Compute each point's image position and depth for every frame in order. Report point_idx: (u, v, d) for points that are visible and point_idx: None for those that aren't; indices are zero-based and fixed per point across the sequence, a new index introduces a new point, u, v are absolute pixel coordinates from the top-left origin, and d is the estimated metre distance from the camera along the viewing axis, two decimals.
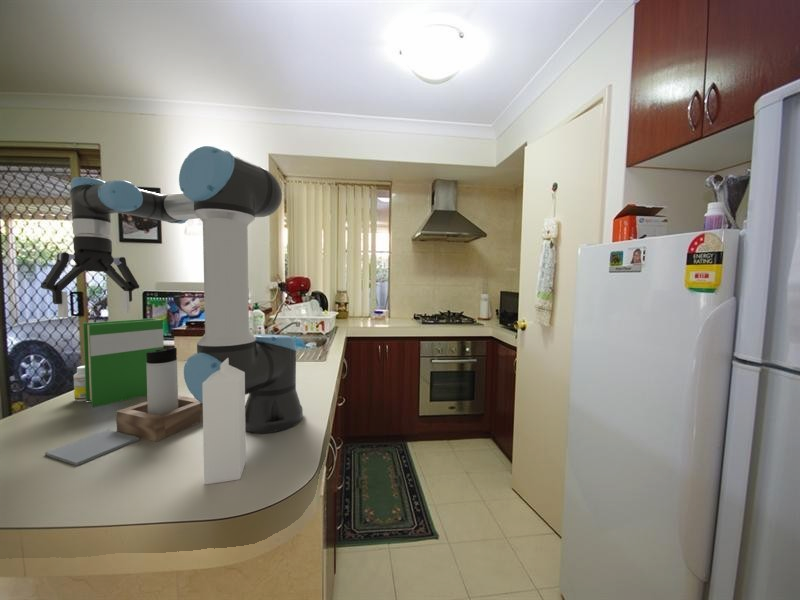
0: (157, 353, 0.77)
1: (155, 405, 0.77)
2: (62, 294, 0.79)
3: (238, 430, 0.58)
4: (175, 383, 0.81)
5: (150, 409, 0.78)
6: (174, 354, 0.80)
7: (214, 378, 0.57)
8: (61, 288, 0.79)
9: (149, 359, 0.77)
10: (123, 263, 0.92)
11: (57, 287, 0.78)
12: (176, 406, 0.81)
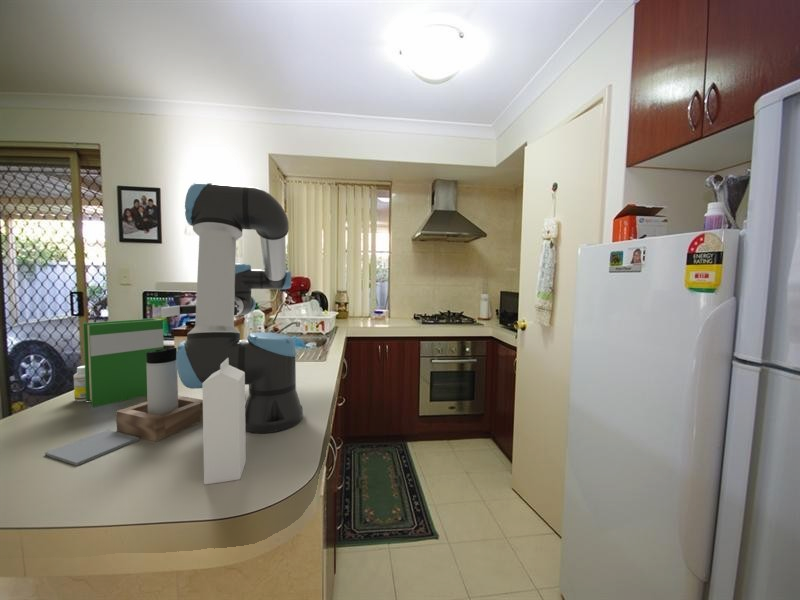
0: (157, 353, 0.77)
1: (155, 405, 0.77)
2: None
3: (238, 430, 0.58)
4: (175, 383, 0.81)
5: (150, 409, 0.78)
6: (174, 354, 0.80)
7: (214, 378, 0.57)
8: (178, 306, 0.96)
9: (149, 359, 0.77)
10: (235, 305, 1.04)
11: None
12: (176, 406, 0.81)
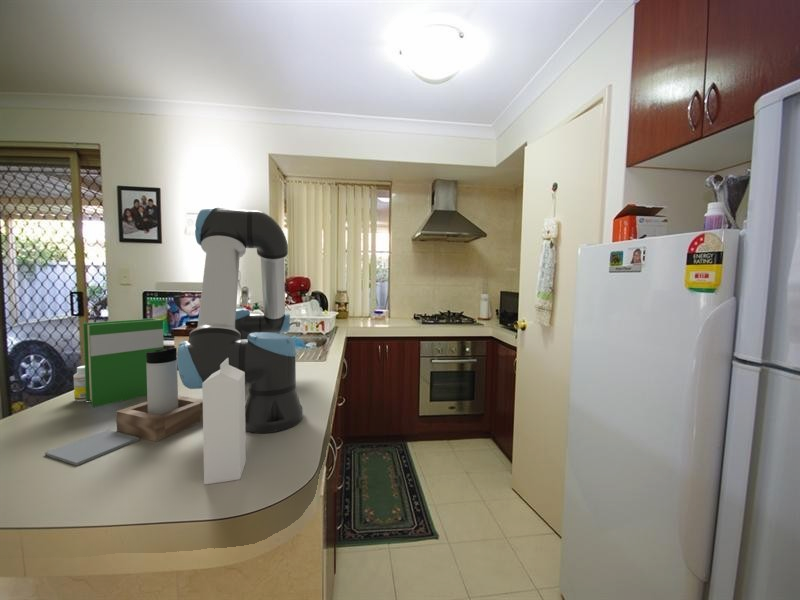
0: (157, 353, 0.77)
1: (155, 405, 0.77)
2: None
3: (238, 430, 0.58)
4: (175, 383, 0.81)
5: (150, 409, 0.78)
6: (174, 354, 0.80)
7: (214, 378, 0.57)
8: None
9: (149, 359, 0.77)
10: None
11: None
12: (176, 406, 0.81)
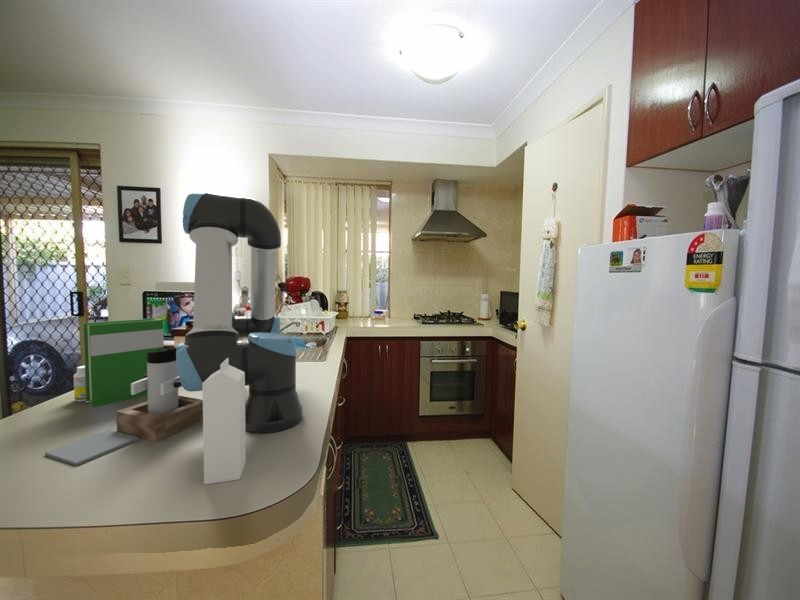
0: (158, 353, 0.77)
1: (155, 405, 0.77)
2: None
3: (238, 430, 0.58)
4: None
5: (151, 408, 0.78)
6: (175, 354, 0.80)
7: (214, 378, 0.57)
8: None
9: (150, 359, 0.77)
10: None
11: None
12: (176, 406, 0.81)
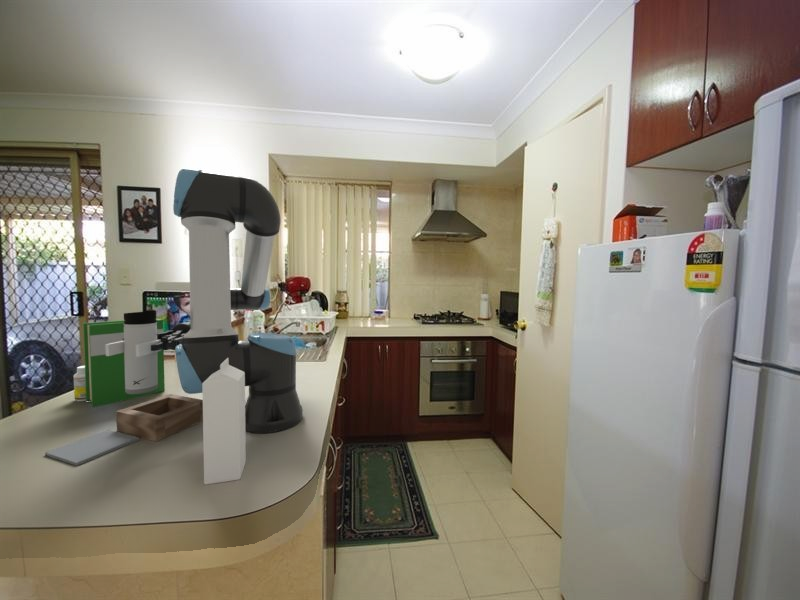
0: (134, 314, 0.74)
1: (132, 368, 0.74)
2: None
3: (238, 430, 0.58)
4: None
5: (127, 372, 0.74)
6: (153, 316, 0.77)
7: (214, 378, 0.57)
8: None
9: (126, 319, 0.74)
10: None
11: None
12: (155, 371, 0.78)
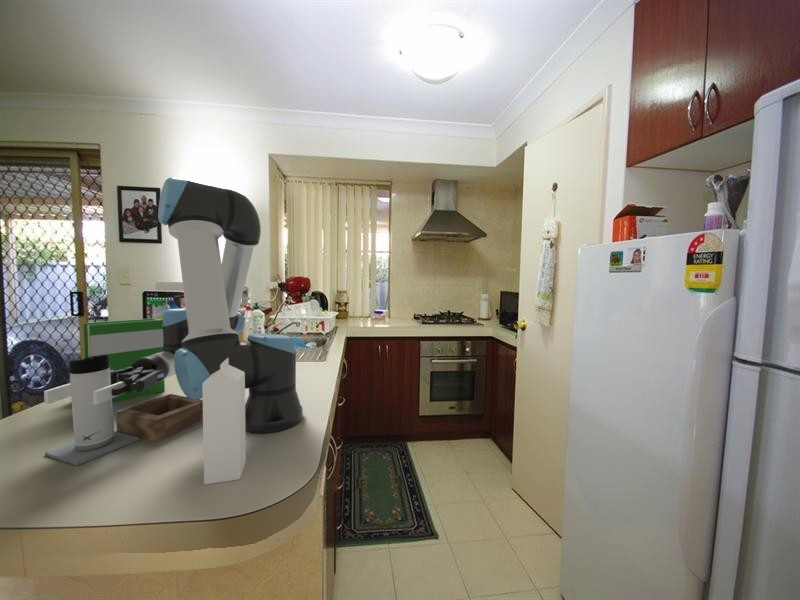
0: (81, 362, 0.66)
1: (81, 422, 0.66)
2: None
3: (238, 430, 0.58)
4: None
5: (76, 427, 0.66)
6: (104, 362, 0.69)
7: (214, 378, 0.57)
8: None
9: (72, 368, 0.66)
10: (155, 371, 0.79)
11: None
12: (109, 422, 0.70)
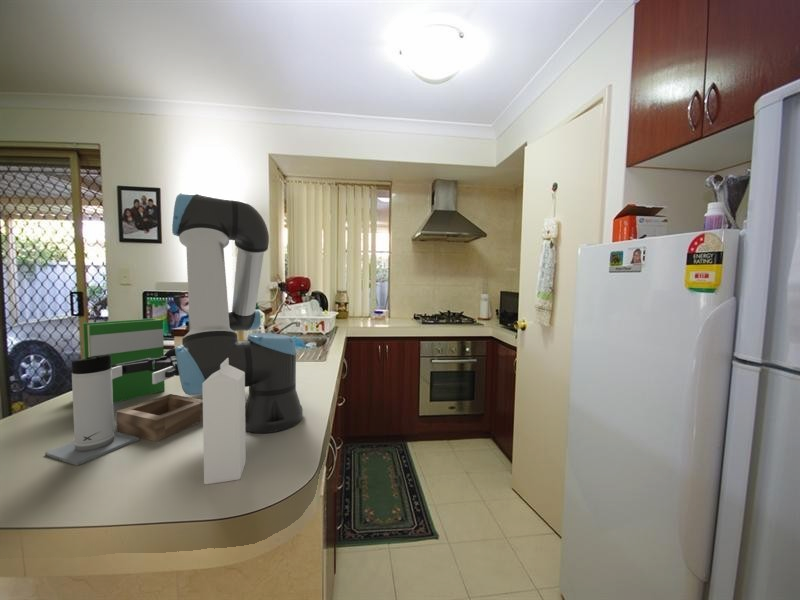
0: (83, 362, 0.66)
1: (82, 423, 0.66)
2: None
3: (238, 430, 0.58)
4: (108, 396, 0.69)
5: (76, 427, 0.66)
6: (106, 362, 0.69)
7: (214, 378, 0.57)
8: (120, 365, 0.85)
9: (74, 368, 0.66)
10: None
11: None
12: (110, 423, 0.70)
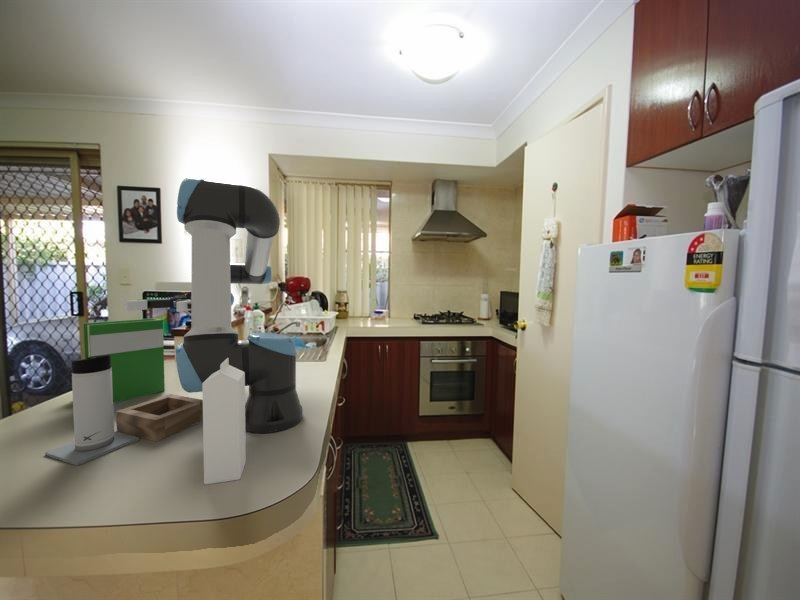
0: (83, 361, 0.66)
1: (82, 422, 0.66)
2: None
3: (238, 430, 0.58)
4: (108, 396, 0.69)
5: (76, 426, 0.66)
6: (106, 362, 0.69)
7: (214, 378, 0.57)
8: (145, 300, 0.92)
9: (74, 368, 0.66)
10: None
11: None
12: (110, 422, 0.70)
